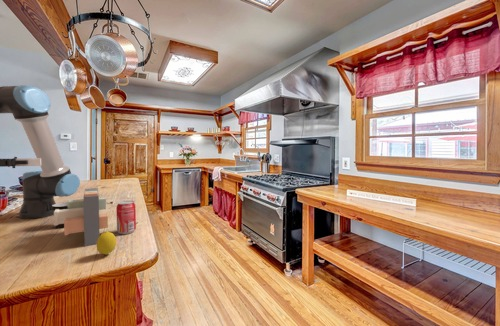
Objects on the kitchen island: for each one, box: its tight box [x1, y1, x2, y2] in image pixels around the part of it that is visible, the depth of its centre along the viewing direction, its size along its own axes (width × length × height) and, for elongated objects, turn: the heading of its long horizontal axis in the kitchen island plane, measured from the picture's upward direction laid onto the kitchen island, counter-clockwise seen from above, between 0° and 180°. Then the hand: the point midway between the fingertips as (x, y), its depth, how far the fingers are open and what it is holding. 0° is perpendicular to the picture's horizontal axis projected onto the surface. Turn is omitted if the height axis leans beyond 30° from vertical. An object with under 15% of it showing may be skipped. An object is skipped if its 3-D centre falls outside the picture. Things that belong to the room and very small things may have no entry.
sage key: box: [67, 196, 107, 211], centre depth 95 cm, size 5×13×5 cm, turn 125°
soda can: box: [115, 200, 137, 235], centre depth 96 cm, size 7×7×13 cm
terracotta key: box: [63, 213, 109, 236], centre depth 84 cm, size 5×13×5 cm, turn 125°
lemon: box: [96, 230, 117, 256], centre depth 75 cm, size 6×6×8 cm
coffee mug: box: [52, 201, 68, 229], centre depth 104 cm, size 12×9×10 cm
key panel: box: [83, 187, 100, 247], centre depth 91 cm, size 20×4×19 cm, turn 35°
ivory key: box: [53, 207, 84, 227], centre depth 88 cm, size 5×13×5 cm, turn 125°
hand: (40, 162), depth 85 cm, fingers closed
